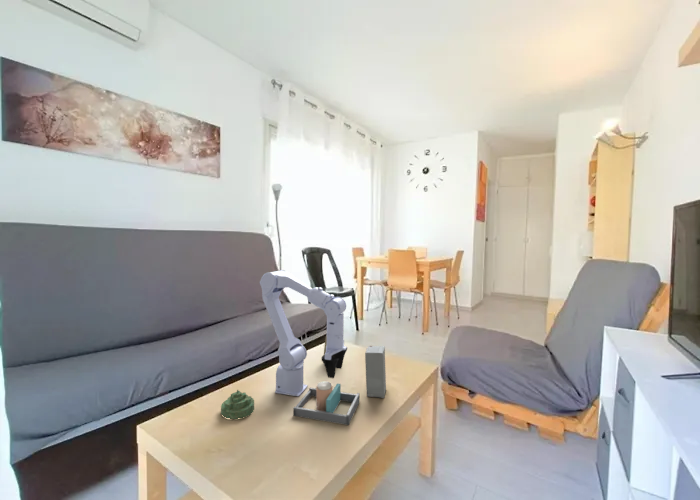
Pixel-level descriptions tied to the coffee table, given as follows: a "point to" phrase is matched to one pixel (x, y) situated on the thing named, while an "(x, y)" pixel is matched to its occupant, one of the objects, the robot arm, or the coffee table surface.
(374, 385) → the skincare box
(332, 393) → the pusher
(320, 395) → the jar
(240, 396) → the decorative artifact
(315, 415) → the grey tray
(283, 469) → the coffee table surface
